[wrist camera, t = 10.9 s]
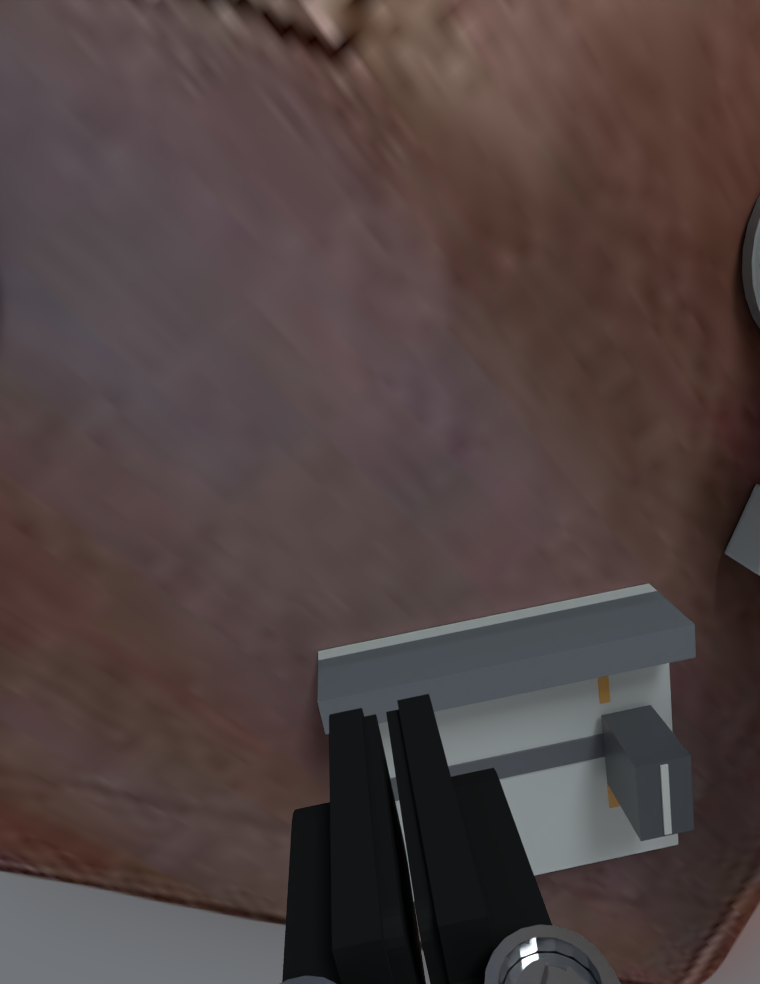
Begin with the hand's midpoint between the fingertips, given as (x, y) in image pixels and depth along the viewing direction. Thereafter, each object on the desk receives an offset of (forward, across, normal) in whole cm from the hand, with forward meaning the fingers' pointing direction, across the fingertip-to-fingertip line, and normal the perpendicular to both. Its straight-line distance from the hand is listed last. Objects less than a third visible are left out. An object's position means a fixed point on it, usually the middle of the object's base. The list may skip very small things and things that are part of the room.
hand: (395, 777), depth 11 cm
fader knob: (+23, -13, +21) cm, 34 cm away
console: (+25, -6, +21) cm, 33 cm away
